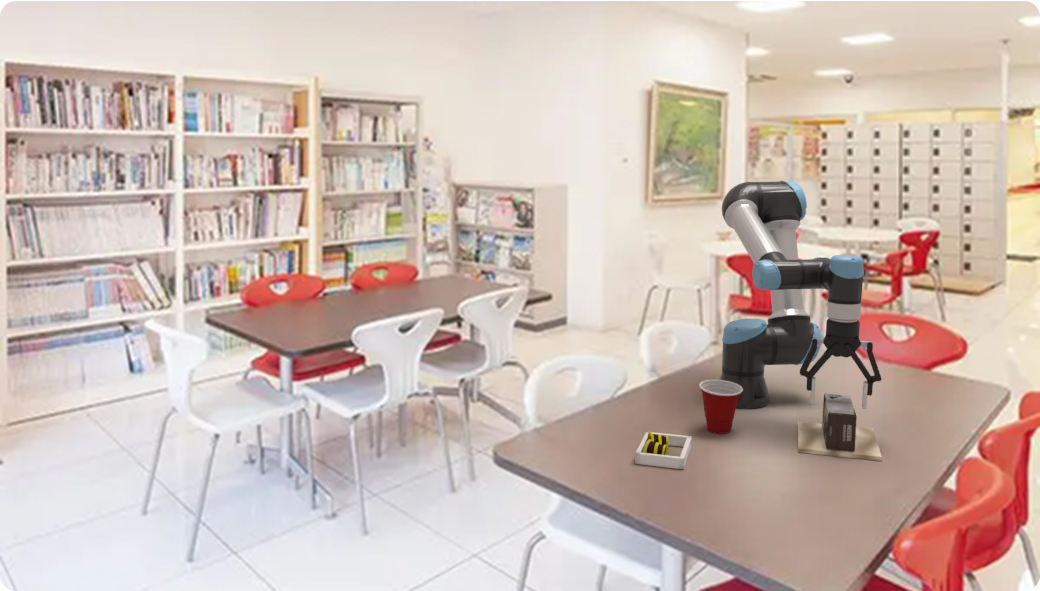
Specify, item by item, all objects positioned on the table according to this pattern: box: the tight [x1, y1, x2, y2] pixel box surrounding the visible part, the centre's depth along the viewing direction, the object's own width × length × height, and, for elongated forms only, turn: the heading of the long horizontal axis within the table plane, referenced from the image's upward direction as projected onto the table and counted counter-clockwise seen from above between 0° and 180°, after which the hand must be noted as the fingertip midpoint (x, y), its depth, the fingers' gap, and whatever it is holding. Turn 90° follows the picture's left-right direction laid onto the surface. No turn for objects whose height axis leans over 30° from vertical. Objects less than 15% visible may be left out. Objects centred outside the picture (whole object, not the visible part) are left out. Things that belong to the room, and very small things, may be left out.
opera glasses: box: [643, 431, 670, 455], centre depth 180 cm, size 10×5×5 cm, turn 165°
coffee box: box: [821, 393, 858, 451], centre depth 187 cm, size 9×6×16 cm
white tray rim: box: [634, 431, 693, 470], centre depth 182 cm, size 11×15×2 cm
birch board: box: [797, 421, 883, 462], centre depth 189 cm, size 18×20×1 cm
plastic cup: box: [699, 379, 743, 435], centre depth 197 cm, size 11×11×12 cm
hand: (837, 405), depth 191 cm, fingers open, 11 cm apart
